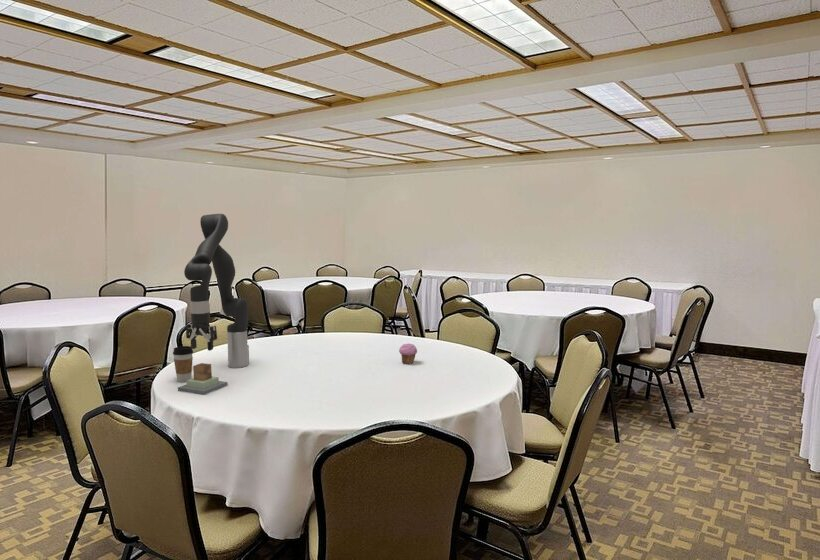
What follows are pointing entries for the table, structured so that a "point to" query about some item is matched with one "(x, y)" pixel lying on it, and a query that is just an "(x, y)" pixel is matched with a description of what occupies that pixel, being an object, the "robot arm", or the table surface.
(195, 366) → the walnut block
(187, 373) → the coffee cup
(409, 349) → the cupcake
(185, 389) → the stack base
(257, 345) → the table surface
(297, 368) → the table surface
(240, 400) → the table surface
